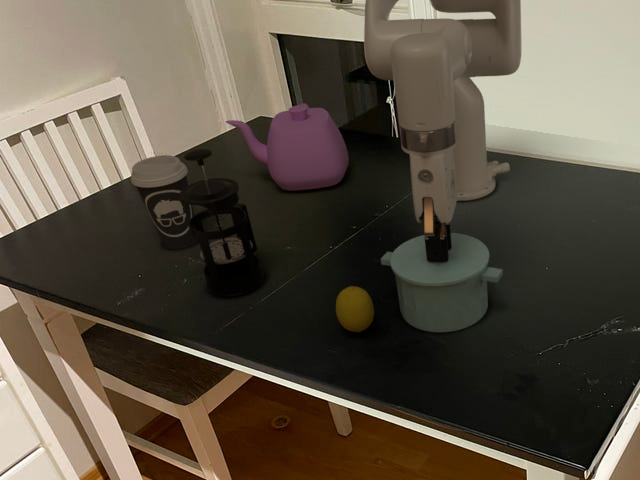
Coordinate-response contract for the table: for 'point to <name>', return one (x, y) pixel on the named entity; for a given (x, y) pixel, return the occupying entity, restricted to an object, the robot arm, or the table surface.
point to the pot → (444, 301)
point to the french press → (223, 233)
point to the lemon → (354, 309)
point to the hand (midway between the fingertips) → (439, 254)
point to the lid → (461, 265)
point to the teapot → (300, 148)
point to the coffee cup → (165, 198)
